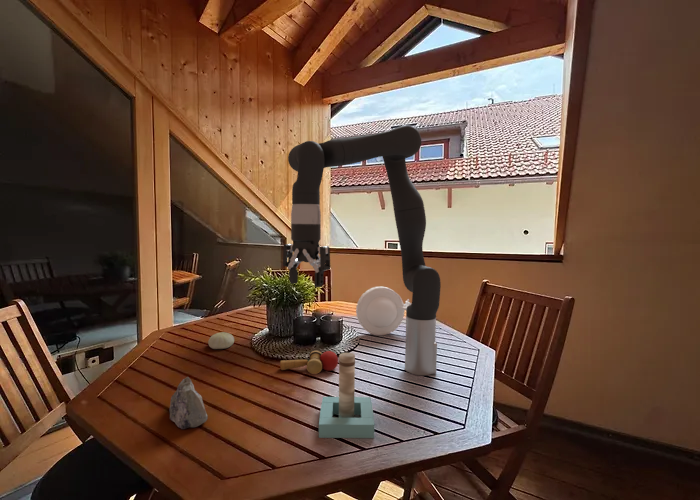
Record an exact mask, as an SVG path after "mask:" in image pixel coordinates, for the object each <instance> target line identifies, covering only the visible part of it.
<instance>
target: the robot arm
mask: <svg viewBox="0 0 700 500" xmlns="http://www.w3.org/2000/svg"><path fill="white" fill-rule="evenodd" d="M421 147H422V137H421V134H420V131H418V129H417V128H415V127H414V126H412V125H408V124H406V125H405V124H404V125H403V124H402V125H399V126H397V127H395V128H393V129H391V130H387V131H384V132H380V133H374V134H367V135H359V136H352V137H351V136H348V137H340V138H334V139H333V138H332V139H330V140H326V141H324V142H320V143H318V142H316V141H314V140H307V141H304V142H302V143H300V144H297V145H296V146H294V147H292V148H291V150H290V151H289V153H288V156H287V161H288V165H289V166H290V168H291V169H292V170H294V171H296V172H297V177H296V180H295V182H294V183H293V184H292V187H291V189H292V190H291V212H290V227H291V228H290V239H291V241H293V243H285V244H283V251H282V253H283V255H282V265H283V267H285V268H287V269H288V270H289V271H288V272H289V273H288V277H289V278H288V279H289V283H290V285H291V284H293V285H295V284H298V281H299V278H298V275H299V274H298V273H299V272H298V271H299V270H298V267H299V265H300V264H301V263H302V262H303V263H308V264H309V265H310V266H312V268H313V270H314V287H315V288H321V287H323V285H324V277H325V276H324V273H325V272H326V271H329V270H331V248H330V246H329V245H323V246H320V240H321V238H322V237H321V236H322V235H321V221H322V220H321V216H322V215H321V213H322V212H321V207H320V206H321V204H320V203H321V200H320V199H321V194H320V193H321V191H320V188H321V183H322V180H323V175H324V169H326V168H333V167H342V166H349V165H353V164H357V163H361V162H364V161H369V160H372V159H376V158H381V157H382V160H383V163H384V164H383V165H384V168H385V172H386V175H387V179H388V183H389V190H390V195H391V200H392V206H393V213H394V214H393V215H394V220H395V225H396V229H397V230H396V231H397V235H398V242H399V243H398V244H399V247H400V248H399V249H400V253H401V267H402V280H403V284H404V287H405V288H406V290H408V291H409V292H411V293H412V297H411V303H412V304H411V305H409V306H408V307H407V309H406V310H405V311H406V312H405V315H406V316H405V348H404V349H405V350H404V352H405V353H404V354H405V355H404V369H405V371H406V372H407V373H409V374H412V375H416V376H430V375H433V374H437V361H438V360H437V359H438V358H437V357H438V356H437V355H438V343H437V342H436V331H437V325H436V323H437V312H438V311H439V308H440V300H441V283H442V282H441V277H440V274H439V272H438V271H437V270H436V269H435V268H433V267H430V266H426V261H425V257H424V250H423V243H424V237H425V234H426V227H427V216H426V210H425V203H424V199H423V198H422V196H421V193H419V190H418V189H417V188H416V186H415V185H414V184H413V182H412V180H411V178H410V177H409V173H408V169H407V164H406V163H407V162H406V159H408V158H411V157H413V156H414V155H416V154H417V153H418V152H419V150H420V149H421Z"/></svg>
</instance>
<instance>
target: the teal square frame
mask: <svg viewBox="0 0 700 500" xmlns="http://www.w3.org/2000/svg"><path fill="white" fill-rule="evenodd" d="M334 415H339V396H322V400H321V407H320V412H319V419H318V421H319V422H318V438H322V439H323V438H324V439H325V438H328V439H335V438H336V439H340V438H341V439H374V438H375V418H374V411H373V402H372V397H371V396H366V397H365V396H363V397H362V396H354V416H355V415H357V416H358V415H359V416H360V417H354V418H339V417H334Z"/></svg>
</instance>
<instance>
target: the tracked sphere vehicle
mask: <svg viewBox="0 0 700 500" xmlns="http://www.w3.org/2000/svg"><path fill="white" fill-rule="evenodd" d="M411 304H412V302H410V299H409V298H407V300H405V303H404V301H403V299H402V297H401V295H400V294H399V293H397V292H396V291H395V290H393V289H391V288H390V287H386V286H382V285H381V286H373V287H370V288H369V289H367V290H365V292H364V293H362V294H361V296H360V297H359V299H358V301H357V303H356V308H355V314H356V318H357V320H358V323H359V325H360V326H361V327H362V329H364V330H365V332H367V333H370V334H371V335H374V336H385V335H389V334H391V333H393V332H394V331H396V330H397V329H398V328H399V327H400V325H401V324H402V323H403V321H404V316H405V313H406V312H405V311H406V309H407V307H408V306H409V305H411Z"/></svg>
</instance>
